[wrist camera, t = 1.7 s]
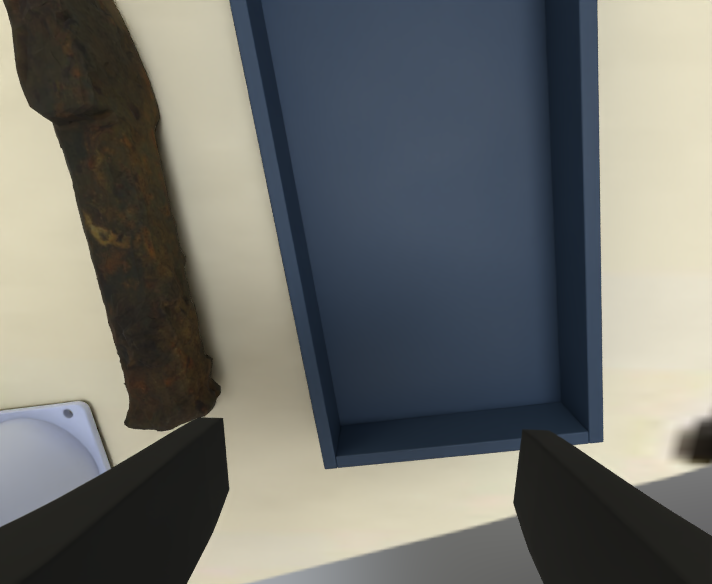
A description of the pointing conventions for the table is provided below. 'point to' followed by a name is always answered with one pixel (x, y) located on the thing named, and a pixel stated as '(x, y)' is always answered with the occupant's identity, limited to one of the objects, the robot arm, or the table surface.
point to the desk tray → (435, 216)
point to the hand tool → (118, 198)
